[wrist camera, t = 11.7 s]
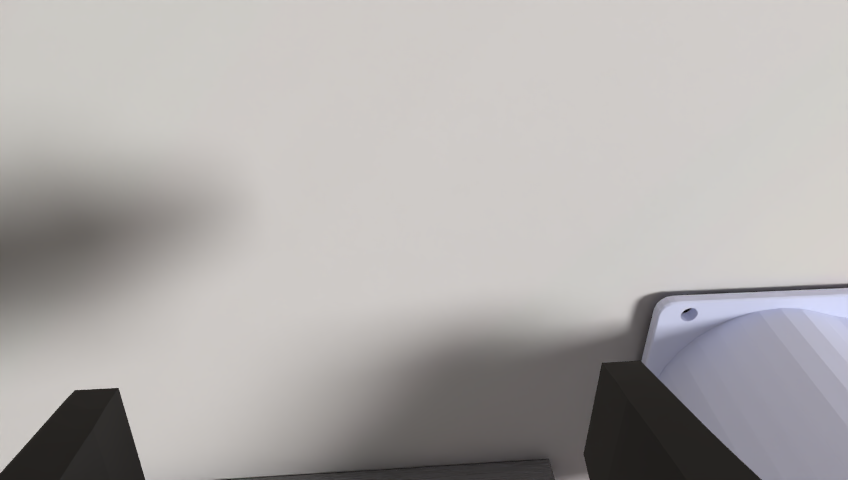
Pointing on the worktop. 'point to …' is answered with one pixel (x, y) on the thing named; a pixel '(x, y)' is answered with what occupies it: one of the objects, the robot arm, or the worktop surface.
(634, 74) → the worktop surface
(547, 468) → the pin plate
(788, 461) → the robot arm
